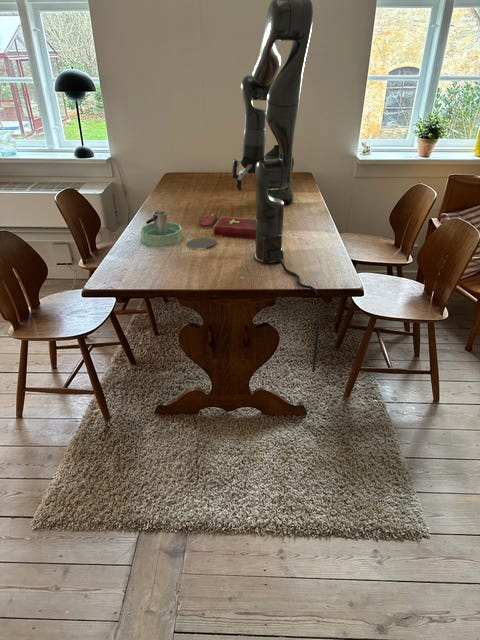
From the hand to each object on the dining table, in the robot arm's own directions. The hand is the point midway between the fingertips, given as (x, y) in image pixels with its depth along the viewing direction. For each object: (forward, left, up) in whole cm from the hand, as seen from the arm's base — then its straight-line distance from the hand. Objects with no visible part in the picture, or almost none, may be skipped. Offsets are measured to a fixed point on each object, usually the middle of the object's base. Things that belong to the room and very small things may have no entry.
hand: (251, 190), depth 162 cm
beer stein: (+47, -24, -20) cm, 57 cm away
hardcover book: (+9, +1, -20) cm, 22 cm away
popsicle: (+25, +12, -20) cm, 34 cm away
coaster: (+1, +19, -19) cm, 27 cm away
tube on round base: (+7, +35, -19) cm, 40 cm away
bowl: (+9, +33, -20) cm, 39 cm away
